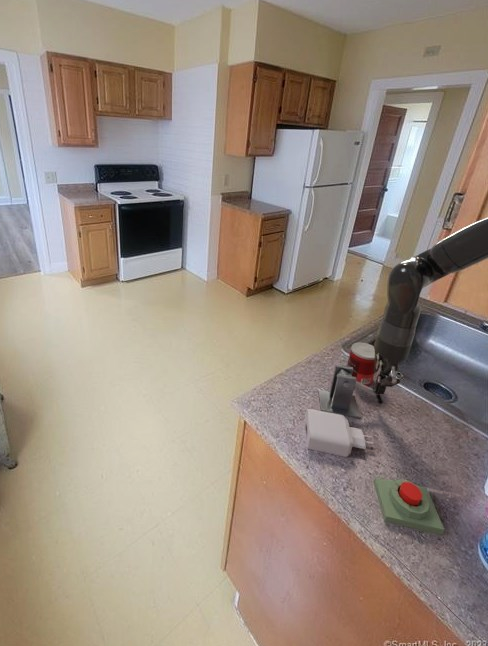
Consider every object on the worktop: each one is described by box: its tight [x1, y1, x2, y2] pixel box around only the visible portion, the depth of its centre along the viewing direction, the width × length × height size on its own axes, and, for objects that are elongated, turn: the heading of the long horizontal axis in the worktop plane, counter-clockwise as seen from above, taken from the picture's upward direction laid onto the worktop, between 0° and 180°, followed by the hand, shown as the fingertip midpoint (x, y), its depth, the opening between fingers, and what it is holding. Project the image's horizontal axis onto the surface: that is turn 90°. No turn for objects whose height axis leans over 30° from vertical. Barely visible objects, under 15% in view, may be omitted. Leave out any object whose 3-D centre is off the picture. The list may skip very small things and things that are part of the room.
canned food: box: [346, 342, 376, 387], centre depth 97 cm, size 8×8×11 cm
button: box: [399, 481, 422, 506], centre depth 63 cm, size 4×4×2 cm
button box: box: [373, 476, 445, 536], centre depth 64 cm, size 10×8×4 cm
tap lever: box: [337, 369, 384, 405], centre depth 85 cm, size 12×5×2 cm, turn 77°
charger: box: [304, 408, 374, 458], centre depth 78 cm, size 5×9×15 cm
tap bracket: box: [317, 364, 362, 420], centre depth 87 cm, size 10×8×12 cm
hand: (378, 392), depth 85 cm, fingers closed
